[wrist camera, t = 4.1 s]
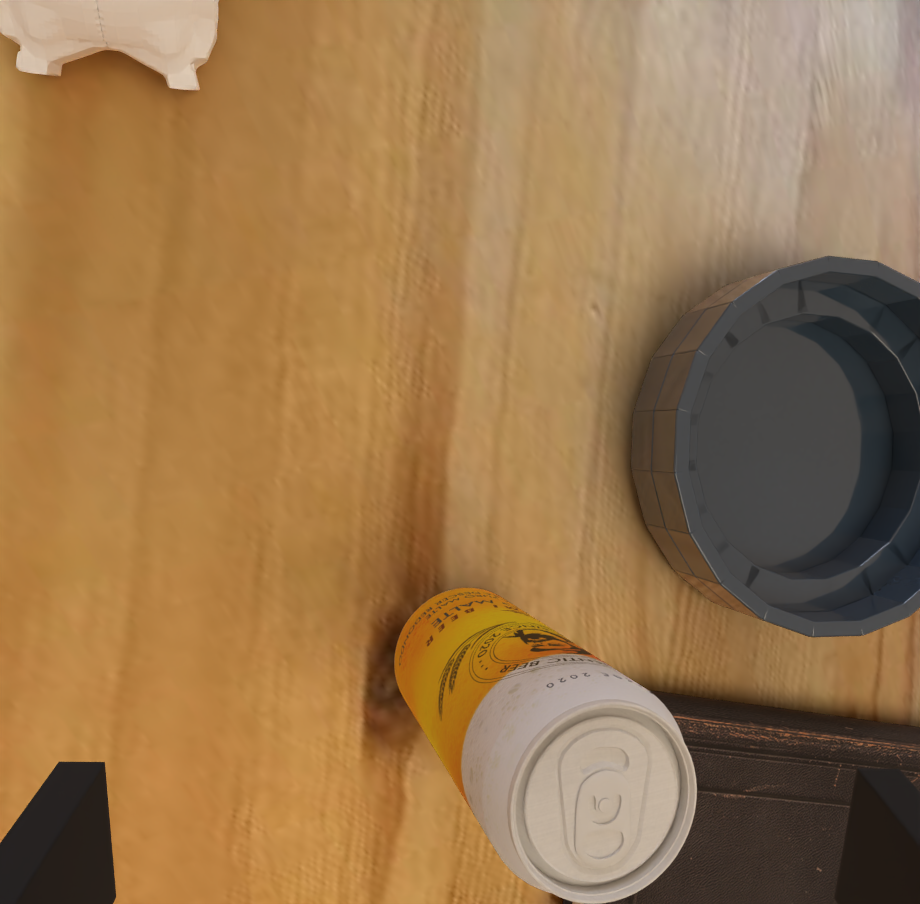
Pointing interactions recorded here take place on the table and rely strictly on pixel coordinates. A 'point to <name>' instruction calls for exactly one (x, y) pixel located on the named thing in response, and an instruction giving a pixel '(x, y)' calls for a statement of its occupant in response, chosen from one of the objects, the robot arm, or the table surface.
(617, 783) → the beer can
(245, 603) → the table surface
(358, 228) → the table surface
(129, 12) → the white animal figurine
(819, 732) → the hardcover book
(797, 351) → the bowl
